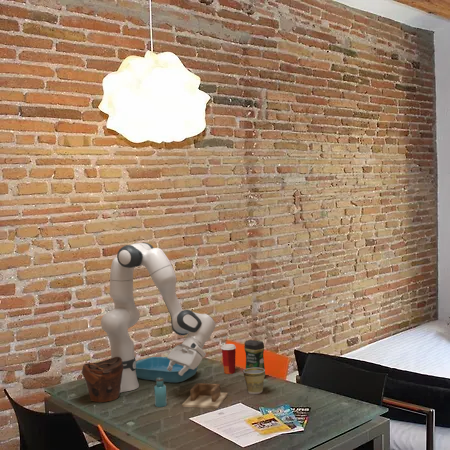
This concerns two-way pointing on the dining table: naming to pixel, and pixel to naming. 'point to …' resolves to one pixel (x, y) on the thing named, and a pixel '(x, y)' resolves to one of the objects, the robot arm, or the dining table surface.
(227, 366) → the paper cup
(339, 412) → the dining table surface
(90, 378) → the case
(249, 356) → the coffee jar
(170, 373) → the casserole dish
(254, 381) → the ceramic cup
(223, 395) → the bottle stand
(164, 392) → the teal bottle
